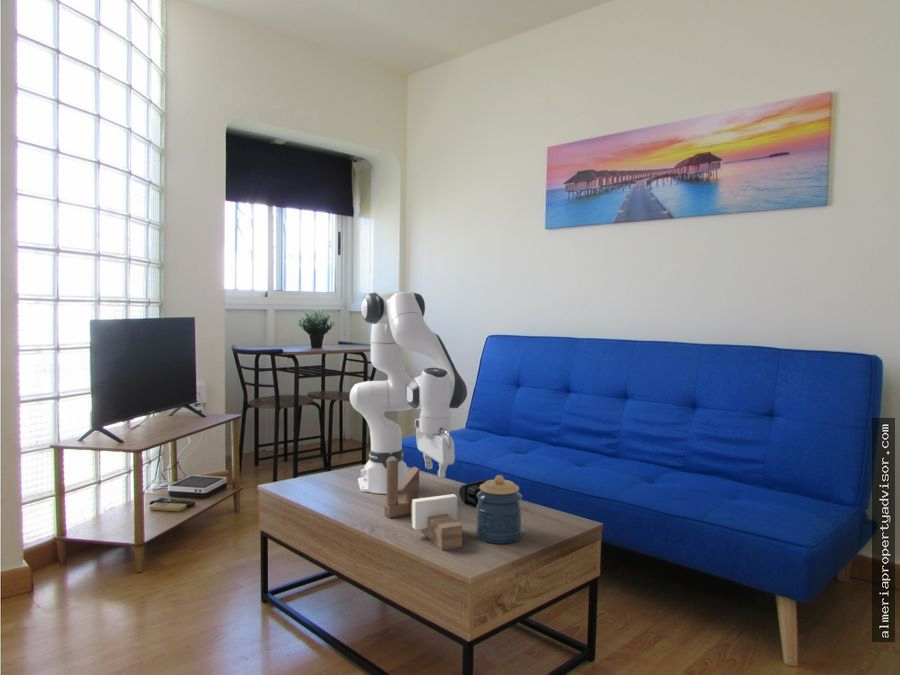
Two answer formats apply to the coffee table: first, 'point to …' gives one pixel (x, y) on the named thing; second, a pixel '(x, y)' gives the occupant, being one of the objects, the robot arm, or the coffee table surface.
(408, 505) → the wooden block
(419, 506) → the white rectangular slab
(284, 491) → the coffee table surface
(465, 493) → the end cap
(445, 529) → the walnut crossbar
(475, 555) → the coffee table surface
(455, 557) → the coffee table surface
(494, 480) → the canister
